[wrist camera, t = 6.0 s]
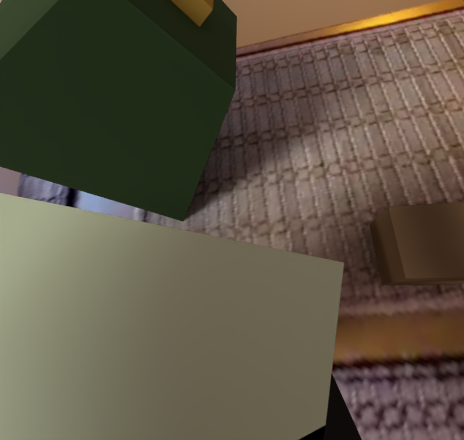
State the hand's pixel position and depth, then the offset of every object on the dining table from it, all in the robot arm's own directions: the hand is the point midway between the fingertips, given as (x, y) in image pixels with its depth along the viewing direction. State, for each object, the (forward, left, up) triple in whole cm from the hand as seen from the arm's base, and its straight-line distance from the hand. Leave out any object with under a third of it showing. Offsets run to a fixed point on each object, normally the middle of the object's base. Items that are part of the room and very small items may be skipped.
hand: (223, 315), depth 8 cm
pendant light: (-12, +14, -13) cm, 22 cm away
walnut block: (+11, +8, -13) cm, 18 cm away
